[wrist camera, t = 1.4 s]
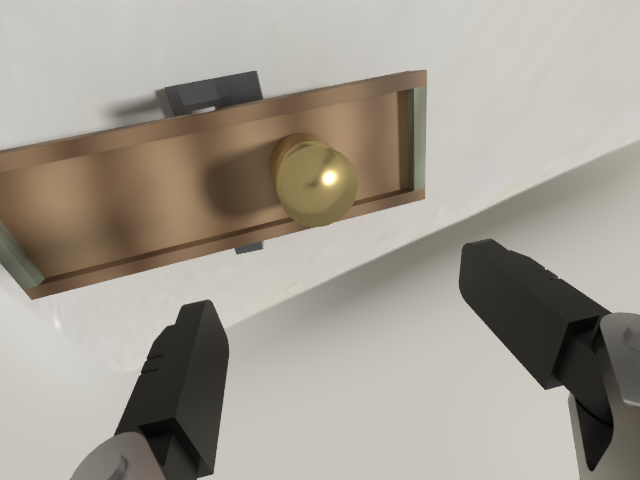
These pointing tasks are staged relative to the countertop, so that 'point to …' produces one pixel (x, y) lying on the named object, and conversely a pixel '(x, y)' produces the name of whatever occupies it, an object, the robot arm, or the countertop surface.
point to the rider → (312, 180)
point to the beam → (196, 181)
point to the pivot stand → (217, 104)
